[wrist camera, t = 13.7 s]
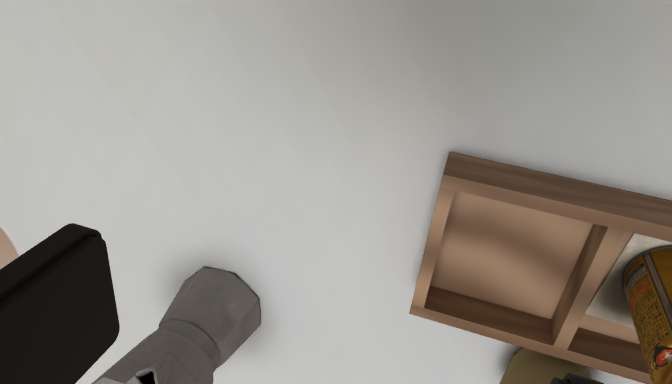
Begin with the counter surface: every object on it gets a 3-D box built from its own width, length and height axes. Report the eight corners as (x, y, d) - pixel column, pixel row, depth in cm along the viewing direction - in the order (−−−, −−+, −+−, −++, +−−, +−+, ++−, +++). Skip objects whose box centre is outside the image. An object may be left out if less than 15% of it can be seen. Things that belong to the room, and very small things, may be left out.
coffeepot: (200, 236, 49) (62, 375, 34) (282, 283, 49) (178, 444, 34) (169, 328, 58) (47, 471, 43) (238, 369, 57) (140, 528, 42)
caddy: (449, 151, 37) (442, 174, 34) (799, 229, 32) (832, 265, 29) (417, 283, 44) (409, 313, 40) (704, 364, 39) (722, 406, 36)
